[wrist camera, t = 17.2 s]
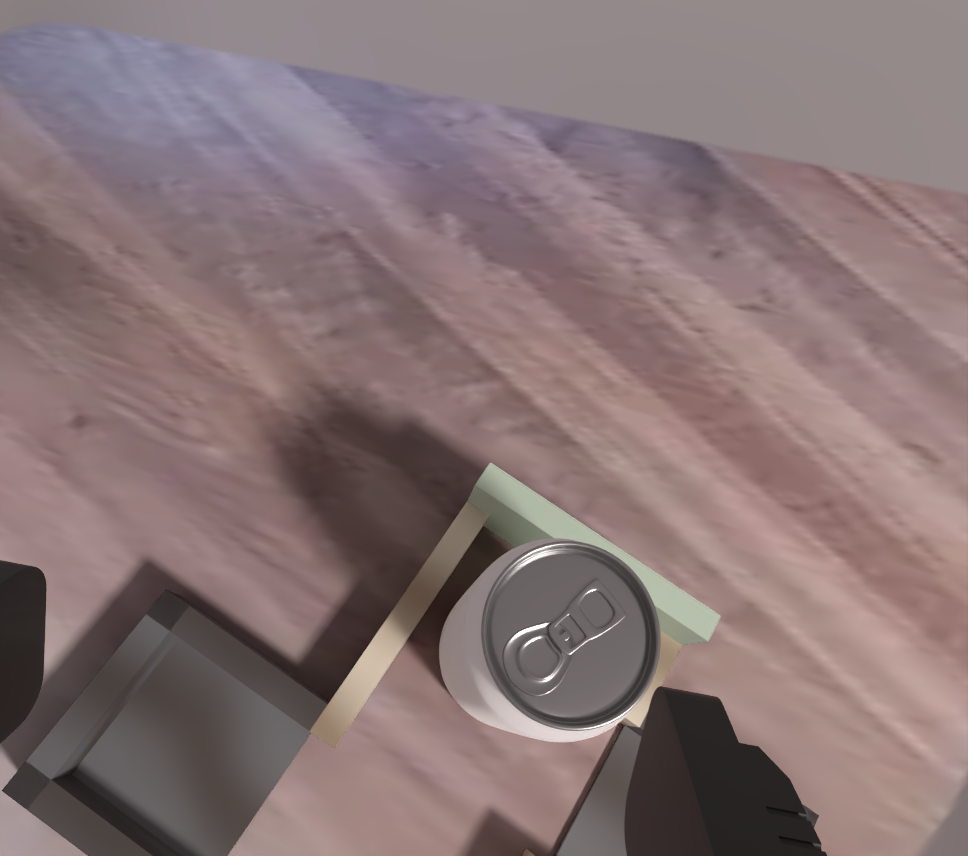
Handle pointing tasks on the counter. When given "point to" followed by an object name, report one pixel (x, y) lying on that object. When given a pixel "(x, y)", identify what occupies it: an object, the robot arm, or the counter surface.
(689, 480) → the counter surface
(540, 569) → the can
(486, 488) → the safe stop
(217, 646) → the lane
